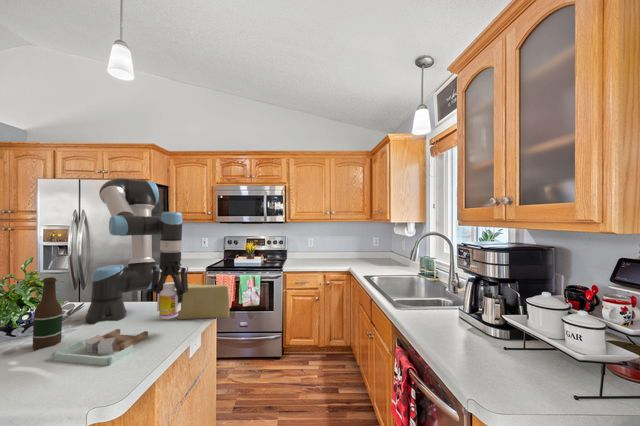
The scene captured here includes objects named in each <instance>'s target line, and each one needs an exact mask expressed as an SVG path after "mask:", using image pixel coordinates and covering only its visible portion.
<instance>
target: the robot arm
mask: <svg viewBox="0 0 640 426" xmlns="http://www.w3.org/2000/svg"><path fill="white" fill-rule="evenodd" d="M99 198H100V200H101V202H102V203H103V204H105V205H106V207H107V210H108V212H109V214H110V216H111V217H110V218H109V220H108V230H109V235H111V236H117V237H118V236H119V237H125V236H131V260H130V261H128V263H127V266H126V267H125V266H124V264H122V263H121V264H119V263H118V264H109V265H105V266H100V267H98V268H95V269H94V270H93V272H92V273H91V275H92V276H91V292H90V293H91V296H90V304H89V306H88V309H87V313H86V315H85V321H84V322H85V323H87V324H93V325H95V324H98V323H101V322H117V321H120V320H123V319H124V318H126V316H127V309H126V306H125V303H124V299H123V295H124V294H123V293H132V292H139V291H147V290H150V291H151V292H152V293H155V302H156V305H157V307H156V310H157V311H156V312H159V310H160V292H161V291H162V290H164V288H163V284H164V283H166V281H167V277H168V276H170V277H171V278H172V280H173V282H174V284H175V287H176V291H177V294H176V295H175V312H178V311H180V310H181V302H183V294H184V293H186V292H188V284H189V282H188V270H189V267H188V266H182V263H181V261H182V252H181V250H182V241H183V240H182V236H183V214H182V213H181V212H180V211H179V212H178V211H162V213H161V214H160V215H161V216H160V215H159V216H152V211H153V209H154V208H155V207H156V206H155V205H157V204H158V203H159V198H160V193H159V188H158V185H157V184H156V183H155V182H154V181H151V180H145V179H131V178H123V177H121V178H119V177H118V178H113V179H110V180H108V181H106V182H105V183H104V184H102V185H101V186H100V189H99ZM153 236H160V242H159V243H160V245H159V248H160V253H159V262H160V263H159V264H157V263H156V260H155V259H154V258H153V250H152V249H153V241H152V240H153V238H152V237H153Z"/></svg>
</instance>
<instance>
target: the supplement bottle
mask: <svg viewBox="0 0 640 426" xmlns="http://www.w3.org/2000/svg"><path fill="white" fill-rule="evenodd" d="M176 294H177V291H176V287H175V284H174V281H173V282H172V281H171V282H165V283H164V284H163V290H162V291H161V292H160V310H159V311H158V312H159V318H160V319H163V320H164V319H165V320H169V319H173V318H177V317H178V312H175V295H176Z"/></svg>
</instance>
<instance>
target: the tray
mask: <svg viewBox="0 0 640 426" xmlns="http://www.w3.org/2000/svg"><path fill="white" fill-rule="evenodd" d="M81 348H83V340H79V341H76V342H75V343H72V344H70V345H68V346H66V347H63V348H61V349H59V350H57V351H54V352H52V353H51V361H58V362H67V363H68V362H69V363H77V364H78V363H80V364H90V365H99V366H100V365H101V366H111V365H113V364H114V363H116V362H118V361H119V360H121V359H123V358H124V357H126V356H128V355H130V354H131V353H133V352H134V345H131V346H129V347H127V348H125V349H124V350H119V351H118V352H117V353H115V354H112V355H111V356H109V357H108V356H100V355H85V354H75V353H72V352H75V351H76V350H79V349H81Z"/></svg>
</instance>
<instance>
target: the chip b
mask: <svg viewBox="0 0 640 426" xmlns="http://www.w3.org/2000/svg"><path fill="white" fill-rule="evenodd" d="M115 349H116V340H115V337H114V338H107V339H101V341H100V343H99V344H98V352H97V353H98V355H97V356H105V355H114V353H115V351H116V350H115Z"/></svg>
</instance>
